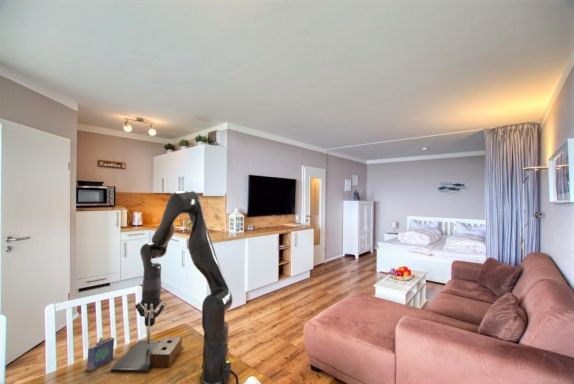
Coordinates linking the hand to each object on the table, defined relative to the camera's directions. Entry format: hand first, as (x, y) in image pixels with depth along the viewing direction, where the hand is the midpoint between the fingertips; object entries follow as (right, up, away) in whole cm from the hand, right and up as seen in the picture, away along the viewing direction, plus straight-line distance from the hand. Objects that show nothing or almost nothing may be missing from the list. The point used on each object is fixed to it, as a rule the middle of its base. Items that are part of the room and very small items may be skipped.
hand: (149, 325), depth 115 cm
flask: (-14, -10, -11) cm, 21 cm away
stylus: (0, -8, 0) cm, 8 cm away
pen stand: (+10, -11, -5) cm, 16 cm away
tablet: (0, -11, -5) cm, 12 cm away
